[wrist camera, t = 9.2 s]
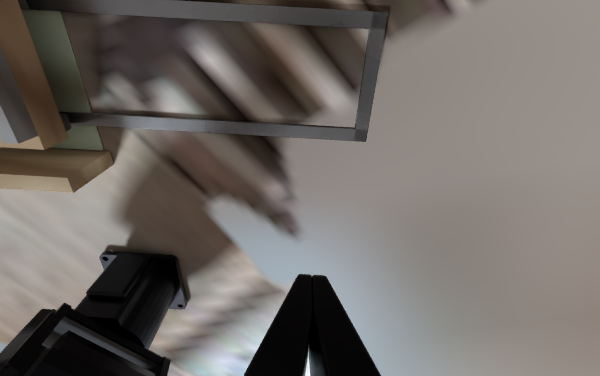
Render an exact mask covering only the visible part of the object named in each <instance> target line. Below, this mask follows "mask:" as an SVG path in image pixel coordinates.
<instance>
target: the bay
mask: <svg viewBox="0 0 600 376" xmlns="http://www.w3.org/2000/svg"><path fill="white" fill-rule="evenodd" d="M21 11H22V14H23V17H24V19H25V22H26V25H27V27H28V30H29V33H30V35H31V38H32V41H33V44H34V46H35V49H36V52H37V54H38V57H39V60H40V62H41V65H42V68H43V71H44V73H45V76H46V79H47V81H48V84H49V87H50V89H51V92H52V95H53V98H54V100H55V103H56V106H57V108H58V111H65V112H82V113H92V111H91V107H90V104H89V101H88V98H87V95H86V91H85V88H84V85H83V82H82V79H81V75H80V72H79V69H78V66H77V63H76V59H75V56H74V53H73V50H72V47H71V43H70V40H69V37H68V34H67V31H66V27H65V24H64V21H63V18H62V15H61V11H45V10H27V9H21ZM70 125H71V127H72V128H71V129H70V130H69V131H66V133H67V135H68V139H66V140H64V141H62V142H60V143H58V144H56V145H53V146H51V147H52V148H47V149H45V150H40V149H23V148H6V147H0V188H1V189H18V190H34V191H51V192H67V193H74V192H75V191H77V190H78V189H79V188H81V187H82V186H84V185H85V184H87V183H88V182H89V181H91V180H92V179H94V178H95V177H97V176H98V175H99V174H101V173H102V172H104V171H105V170H106V169H108V168H109V167H111V166H112V165H114V163H113V160H112V157H111V154H110V151H96V150H104V149H103V146H102V143H101V139H100V136H99V133H98V130H97V127H96V126H89V125H72V124H70ZM63 148H69V149H63ZM80 149H85V150H80Z"/></svg>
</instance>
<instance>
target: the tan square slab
mask: <svg viewBox="0 0 600 376" xmlns="http://www.w3.org/2000/svg"><path fill="white" fill-rule="evenodd" d="M21 9H27V10H29V7H28V4H27V1H26V0H0V147H6V148H23V149H40V150H45V149H47V148H49V147H51V146H53V145H56V144H58V143H60V142H62V141H64V140H66V139H68V135H67V133H66V131H69V130H70V129H71V128H72V127H71V125H70V122H69V119H68V116H67V114H65V113H59V111H58V108H57V106H56V103H55V100H54V98H53V95H52V92H51V89H50V87H49V84H48V81H47V79H46V76H45V73H44V71H43V68H42V65H41V62H40V60H39V57H38V54H37V52H36V49H35V46H34V44H33V41H32V38H31V35H30V33H29V30H28V27H27V25H26V22H25V19H24V17H23V14H22V11H21Z"/></svg>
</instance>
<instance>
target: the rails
mask: <svg viewBox="0 0 600 376" xmlns="http://www.w3.org/2000/svg"><path fill="white" fill-rule="evenodd" d="M26 1H27V4H28V7H29V10H45V11H63V12H81V13H99V14H116V15H134V16H152V17H170V18H188V19H205V20H223V21H241V22H259V23H276V24H294V25H312V26H330V27H348V28H365V29H369V35H368V42H367V49H366V55H365V62H364V69H363V76H362V82H361V89H360V96H359V103H358V109H357V116H356V123H355V128H351V127H334V126H317V125H300V124H283V123H266V122H249V121H232V120H215V119H198V118H180V117H163V116H146V115H129V114H112V113H95V112H92V113H82V112H65V111H59V113H65V114H67V116H68V119H69V122H70V124H72V125H89V126H106V127H123V128H140V129H157V130H174V131H191V132H208V133H225V134H242V135H259V136H276V137H293V138H311V139H327V140H345V141H362V142H366V138H367V133H368V127H369V121H370V115H371V109H372V104H373V98H374V92H375V86H376V80H377V74H378V69H379V63H380V57H381V51H382V45H383V40H384V34H385V28H386V22H387V16H388V12H374V11H357V10H339V9H321V8H303V7H285V6H267V5H249V4H231V3H213V2H195V1H177V0H26Z"/></svg>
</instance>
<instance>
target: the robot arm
mask: <svg viewBox="0 0 600 376" xmlns="http://www.w3.org/2000/svg"><path fill="white" fill-rule="evenodd" d="M100 261H101V263H102V265H103V268H104V271H103V273H102V274H101V275H100V276H99V277H98V279H97V280H96V281H95V282H94V283H93V284H92V286H91V287H90V288H89V289H88V290H87V292H86V293H87V295H86V296H85V298H84V299H83V300H82V301H81V302H80V304H79V305H78V306H77V307H76V308H75V310H74V309H72V308H71V307H72V306H70V305H68V304H66V303H63V304H62V305H61V306H60V307H59V308H58V309H57V310H55V309H53V310H50V309H41V310H40V311H39V312H38V313H37V314H36V316H35V317H34V318H33V319H32V320H31V321H30V322H29V323H28V324H27V325H26V326H25V327H24V328H23V329H22V330H21V331H20V332H19V333H18V335H17V336H16V337H15V338H14V339H13V340H12V341H11V342H10V343H9V344H8V345H7V346H6V347H5V348H4V350H3V351H2V352H1V353H0V376H167V374H168V369H169V365H170V361H171V360H170V359H168V358H166V357H161V356H160V355H158V354H156V353H154V352H152V351H150V350H148V349H149V347H150V345H151V343H152V341H153V339H154V337H155V335H156V333H157V331H158V329H159V327H160V325H161V323H162V321H163V319H164V317H165V315H166V313H167V311H168V309H185V308H186V305H187V299H186V295H185V290H184V286H183V281H182V276H181V272H180V267H179V263H178V259H177V258H176V257H175V256H172V255H159V254H143V253H127V252H111V251H105V252H103V253H102V254H101V255H100ZM171 261H172V262H171ZM308 348H309V363H310V375H311V376H381V375H380V373H379V371H378V370H377V368H376V366H375V364H374V362H373V360H372V358H371V357H370V355H369V353H368V351H367V349H366V348H365V346H364V344H363V342H362V340H361V339H360V337H359V335H358V333H357V331H356V329H355V328H354V326H353V324H352V322H351V321H350V319H349V317H348V315H347V313H346V311H345V310H344V308H343V306H342V304H341V302H340V300H339V299H338V297H337V295H336V293H335V291H334V290H333V288H332V286H331V284H330V282H329V281H328V279H327V277H326V276H323V275H313V276H311V275H307V274H299V275H298V276H297V278H296V279H295V281H294V283H293V285H292V287H291V289H290V291H289V292H288V294H287V296H286V298H285V300H284V302H283V303H282V305H281V307H280V309H279V311H278V313H277V315H276V316H275V318H274V320H273V322H272V324H271V326H270V328H269V329H268V331H267V333H266V335H265V337H264V339H263V341H262V342H261V344H260V346H259V348H258V350H257V352H256V353H255V355H254V357H253V359H252V361H251V363H250V365H249V366H248V368H247V370H246V372H245V374H244V376H305V372H306V365H307V357H308Z"/></svg>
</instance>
